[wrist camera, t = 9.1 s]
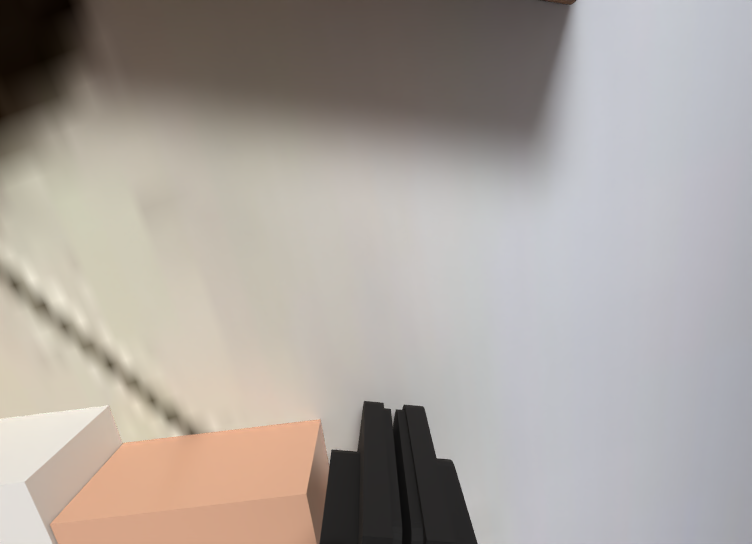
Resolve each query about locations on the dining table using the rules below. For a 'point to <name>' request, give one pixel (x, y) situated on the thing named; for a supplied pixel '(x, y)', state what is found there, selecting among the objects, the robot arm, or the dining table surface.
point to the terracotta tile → (206, 490)
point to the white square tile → (49, 467)
